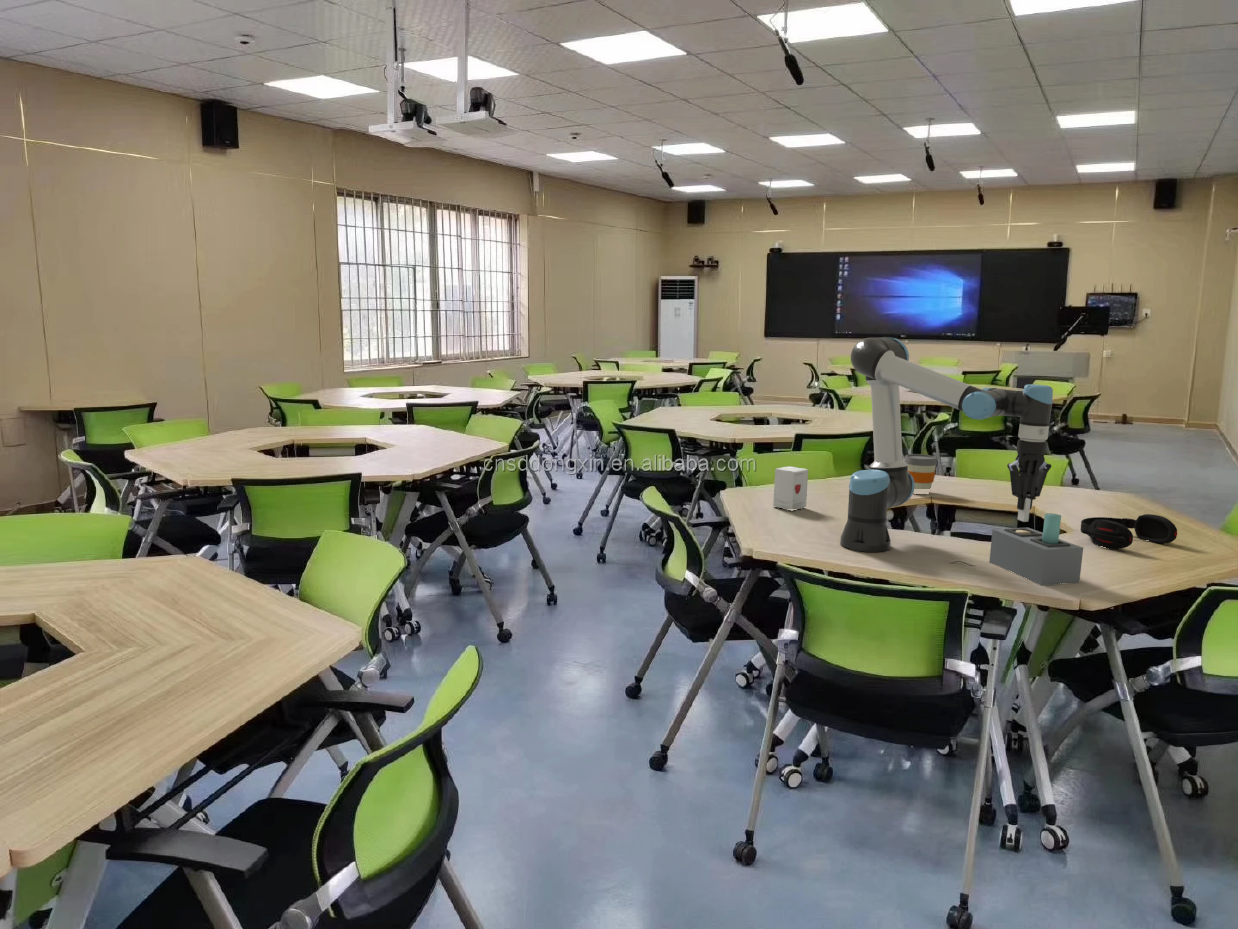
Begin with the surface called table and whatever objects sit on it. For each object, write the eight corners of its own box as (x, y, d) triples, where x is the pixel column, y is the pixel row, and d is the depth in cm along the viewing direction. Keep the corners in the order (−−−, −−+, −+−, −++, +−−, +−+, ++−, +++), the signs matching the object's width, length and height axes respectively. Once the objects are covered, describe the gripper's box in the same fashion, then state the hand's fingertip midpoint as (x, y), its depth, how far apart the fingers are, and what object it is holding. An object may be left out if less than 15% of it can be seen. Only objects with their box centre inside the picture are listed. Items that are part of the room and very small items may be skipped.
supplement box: (791, 512, 310) (794, 471, 307) (772, 507, 316) (774, 468, 314) (807, 508, 316) (809, 469, 313) (787, 504, 322) (789, 465, 320)
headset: (1164, 561, 254) (1168, 533, 253) (1068, 544, 271) (1071, 518, 270) (1179, 543, 275) (1183, 517, 274) (1089, 529, 292) (1092, 504, 290)
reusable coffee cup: (896, 489, 353) (899, 454, 350) (925, 489, 354) (928, 454, 351) (910, 496, 340) (913, 459, 338) (940, 495, 342) (943, 459, 339)
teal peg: (1038, 546, 236) (1041, 513, 234) (1050, 546, 236) (1054, 513, 235) (1048, 550, 232) (1051, 517, 230) (1060, 550, 233) (1064, 516, 231)
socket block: (989, 562, 250) (992, 527, 248) (1024, 560, 253) (1028, 525, 251) (1041, 585, 229) (1045, 547, 227) (1079, 583, 232) (1083, 545, 230)
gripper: (1021, 442, 234) (1011, 524, 239) (1061, 441, 237) (1051, 523, 242) (1003, 437, 242) (994, 517, 246) (1043, 437, 244) (1033, 516, 249)
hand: (1022, 520), depth 244 cm, fingers closed
